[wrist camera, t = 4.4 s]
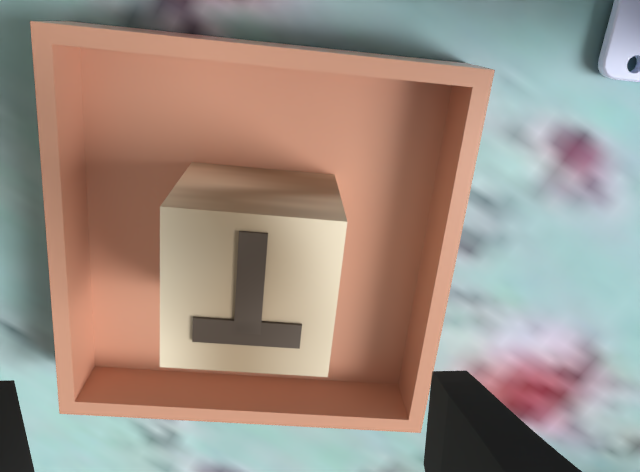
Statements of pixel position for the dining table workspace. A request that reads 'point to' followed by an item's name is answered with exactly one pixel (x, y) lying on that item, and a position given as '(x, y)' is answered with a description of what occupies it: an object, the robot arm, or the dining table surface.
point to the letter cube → (250, 270)
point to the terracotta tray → (259, 152)
